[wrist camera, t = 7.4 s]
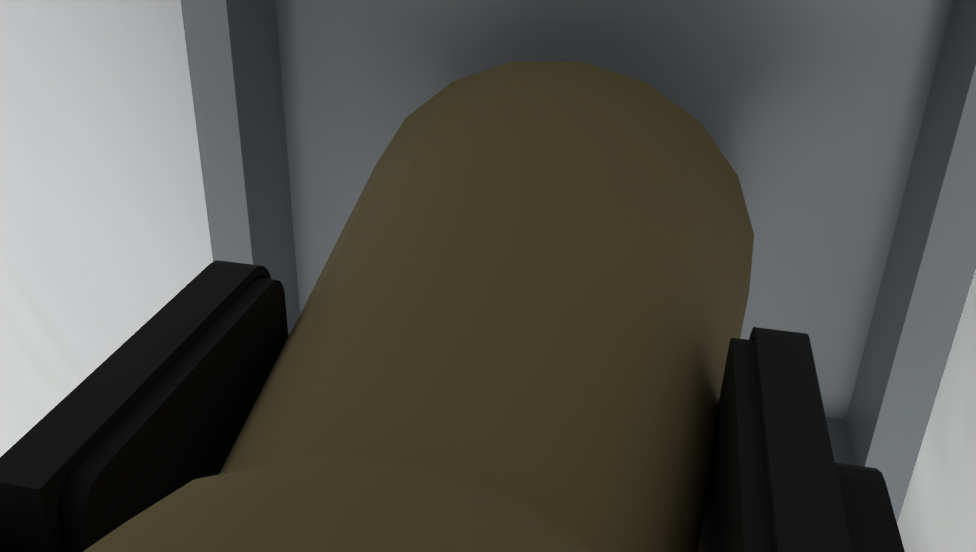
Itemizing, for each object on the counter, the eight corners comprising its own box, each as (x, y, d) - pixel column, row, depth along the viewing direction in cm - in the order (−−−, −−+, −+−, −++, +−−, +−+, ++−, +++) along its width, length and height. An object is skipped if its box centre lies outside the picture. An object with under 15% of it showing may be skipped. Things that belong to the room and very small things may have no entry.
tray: (235, -152, 16) (162, -147, 14) (1029, -119, 14) (1090, -106, 12) (281, 355, 21) (232, 419, 19) (874, 439, 19) (896, 523, 17)
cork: (844, 269, 13) (1228, 1498, 4) (554, 477, 16) (326, 1484, 6) (545, -36, 12) (-58, 528, 3) (291, 242, 15) (-456, 1017, 5)
